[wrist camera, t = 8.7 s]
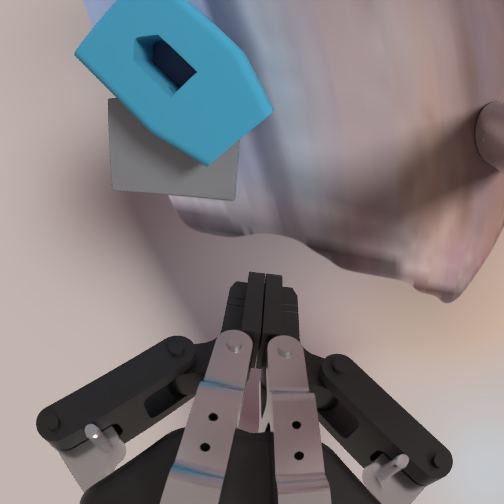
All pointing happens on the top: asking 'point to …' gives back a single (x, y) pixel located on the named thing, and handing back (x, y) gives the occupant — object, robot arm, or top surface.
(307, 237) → the top surface
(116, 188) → the mat
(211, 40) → the block
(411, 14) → the top surface
